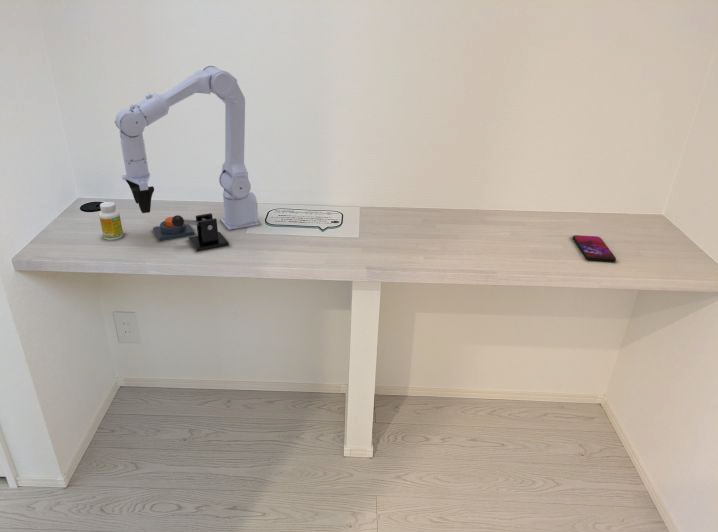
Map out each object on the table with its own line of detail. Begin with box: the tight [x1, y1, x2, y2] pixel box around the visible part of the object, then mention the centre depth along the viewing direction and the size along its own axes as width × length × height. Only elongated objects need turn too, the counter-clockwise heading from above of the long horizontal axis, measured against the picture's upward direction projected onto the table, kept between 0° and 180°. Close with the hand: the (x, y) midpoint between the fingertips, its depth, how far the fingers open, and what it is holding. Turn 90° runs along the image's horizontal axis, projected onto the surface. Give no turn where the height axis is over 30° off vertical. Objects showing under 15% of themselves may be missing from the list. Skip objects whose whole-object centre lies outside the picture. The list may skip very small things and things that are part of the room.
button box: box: [152, 220, 195, 242], centre depth 165 cm, size 10×8×3 cm
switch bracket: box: [188, 212, 230, 253], centre depth 158 cm, size 9×8×8 cm
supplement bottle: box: [98, 201, 124, 241], centre depth 161 cm, size 5×5×10 cm
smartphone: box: [572, 234, 617, 262], centre depth 159 cm, size 8×1×15 cm
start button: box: [164, 216, 175, 227], centre depth 164 cm, size 4×4×2 cm
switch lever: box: [172, 214, 210, 227], centre depth 155 cm, size 11×3×3 cm, turn 117°
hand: (142, 207), depth 156 cm, fingers open, 7 cm apart
